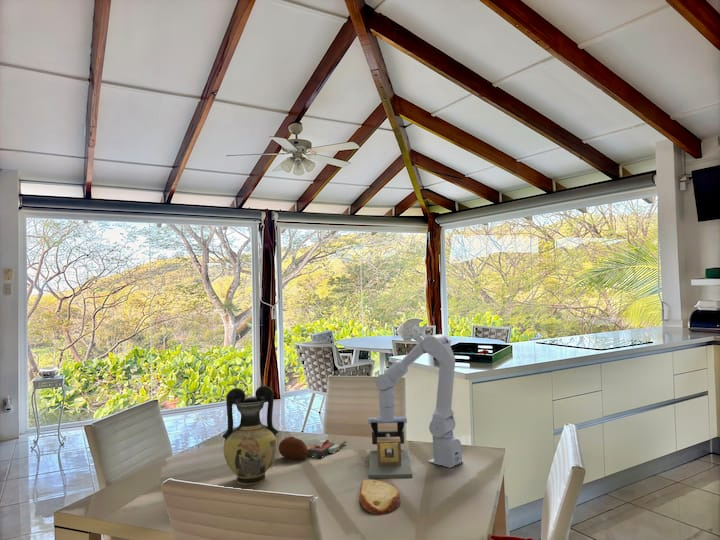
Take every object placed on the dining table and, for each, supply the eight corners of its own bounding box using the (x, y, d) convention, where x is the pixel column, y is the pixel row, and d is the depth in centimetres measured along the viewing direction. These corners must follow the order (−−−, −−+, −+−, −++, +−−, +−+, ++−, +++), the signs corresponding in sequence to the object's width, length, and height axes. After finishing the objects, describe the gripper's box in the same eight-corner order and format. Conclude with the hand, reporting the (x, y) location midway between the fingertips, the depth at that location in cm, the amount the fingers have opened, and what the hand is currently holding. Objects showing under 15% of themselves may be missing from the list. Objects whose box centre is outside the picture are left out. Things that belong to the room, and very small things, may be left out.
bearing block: (377, 459, 168) (377, 437, 169) (400, 459, 168) (399, 436, 169) (377, 465, 162) (377, 442, 163) (401, 465, 162) (400, 441, 163)
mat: (369, 453, 179) (369, 450, 179) (407, 452, 179) (407, 449, 179) (368, 478, 153) (368, 475, 154) (412, 477, 153) (412, 474, 153)
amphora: (226, 493, 144) (225, 393, 147) (220, 476, 160) (219, 385, 162) (283, 484, 151) (281, 387, 153) (272, 468, 166) (271, 380, 169)
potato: (304, 462, 171) (303, 439, 172) (274, 461, 174) (273, 439, 174) (311, 456, 179) (310, 434, 179) (282, 455, 181) (281, 433, 182)
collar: (380, 460, 162) (380, 442, 163) (398, 460, 162) (397, 442, 163) (380, 462, 161) (380, 444, 161) (398, 461, 161) (397, 443, 161)
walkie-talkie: (325, 460, 174) (348, 445, 192) (325, 448, 174) (348, 434, 193) (304, 458, 177) (329, 443, 196) (304, 446, 178) (328, 432, 196)
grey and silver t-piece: (372, 443, 182) (371, 431, 182) (403, 442, 182) (403, 430, 182) (371, 461, 161) (371, 447, 161) (407, 460, 160) (406, 446, 161)
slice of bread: (369, 483, 150) (369, 471, 150) (419, 496, 139) (418, 483, 139) (331, 503, 136) (331, 489, 136) (382, 519, 125) (382, 504, 125)
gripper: (405, 403, 183) (406, 439, 182) (367, 404, 184) (368, 440, 183) (406, 407, 176) (408, 444, 175) (367, 408, 177) (368, 445, 176)
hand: (388, 443), depth 179 cm, fingers open, 7 cm apart
